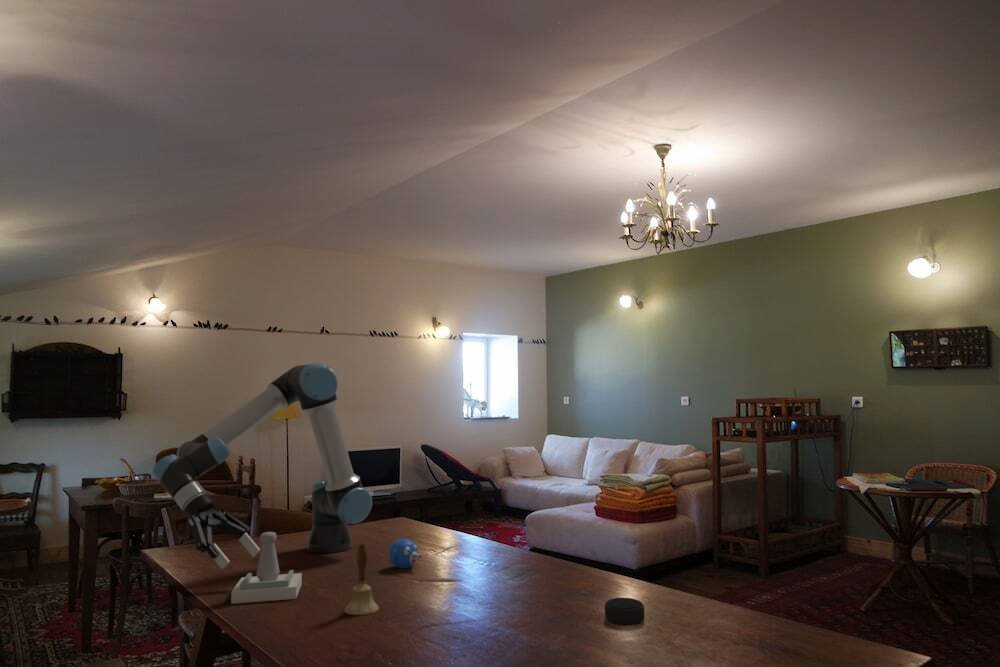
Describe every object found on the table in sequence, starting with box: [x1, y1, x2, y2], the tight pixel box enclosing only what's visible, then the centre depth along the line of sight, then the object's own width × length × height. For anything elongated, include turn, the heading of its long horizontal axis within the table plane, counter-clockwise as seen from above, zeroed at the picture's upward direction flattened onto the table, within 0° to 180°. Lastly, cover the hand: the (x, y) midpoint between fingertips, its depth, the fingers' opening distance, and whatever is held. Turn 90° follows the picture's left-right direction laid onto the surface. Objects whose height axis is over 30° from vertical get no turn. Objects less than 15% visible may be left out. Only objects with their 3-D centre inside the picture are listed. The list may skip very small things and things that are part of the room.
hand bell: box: [344, 542, 380, 616], centre depth 167 cm, size 8×8×16 cm
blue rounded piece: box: [388, 538, 423, 569], centre depth 205 cm, size 12×12×8 cm
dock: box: [230, 569, 303, 604], centre depth 182 cm, size 16×14×4 cm
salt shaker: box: [256, 531, 280, 582], centre depth 183 cm, size 6×6×13 cm
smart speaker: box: [604, 597, 646, 626], centre depth 155 cm, size 9×9×4 cm
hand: (241, 559), depth 185 cm, fingers open, 13 cm apart
